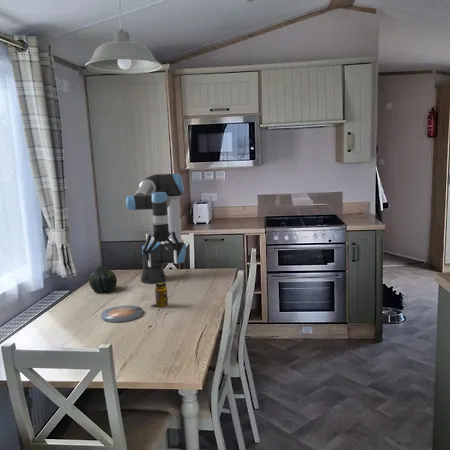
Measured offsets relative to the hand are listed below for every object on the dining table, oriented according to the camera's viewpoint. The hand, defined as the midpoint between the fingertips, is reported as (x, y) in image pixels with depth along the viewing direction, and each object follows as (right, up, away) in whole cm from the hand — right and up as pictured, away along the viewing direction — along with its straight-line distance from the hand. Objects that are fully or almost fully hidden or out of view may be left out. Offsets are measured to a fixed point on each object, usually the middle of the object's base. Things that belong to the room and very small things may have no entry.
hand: (162, 264), depth 229 cm
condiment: (-2, -22, +3) cm, 22 cm away
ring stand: (-19, -24, -8) cm, 31 cm away
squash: (-39, -18, +32) cm, 53 cm away
